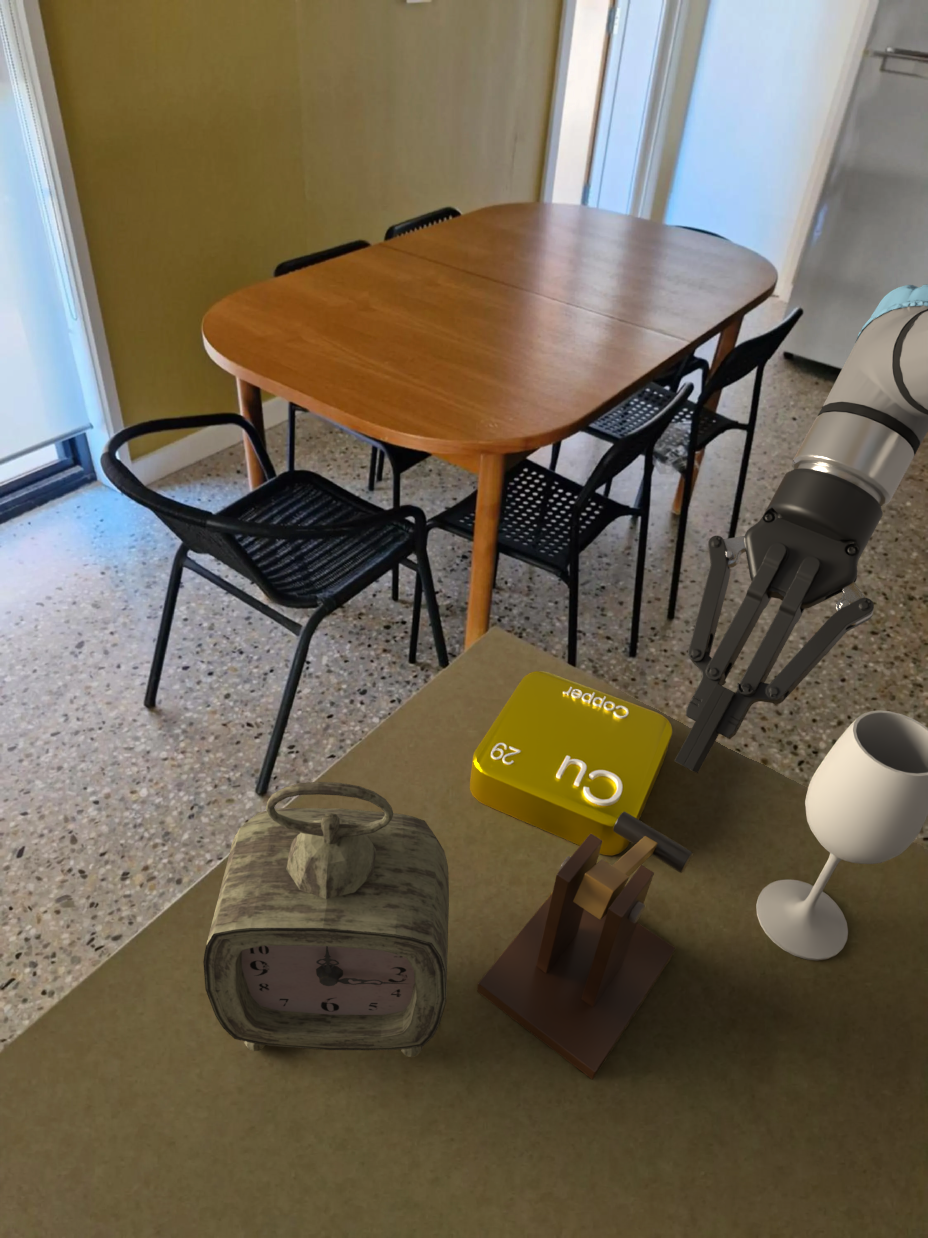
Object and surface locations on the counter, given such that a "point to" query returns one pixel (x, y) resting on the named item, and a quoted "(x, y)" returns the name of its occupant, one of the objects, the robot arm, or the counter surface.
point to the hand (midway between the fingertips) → (686, 767)
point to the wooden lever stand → (579, 966)
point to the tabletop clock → (331, 928)
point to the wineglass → (852, 825)
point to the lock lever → (627, 864)
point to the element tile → (570, 759)
